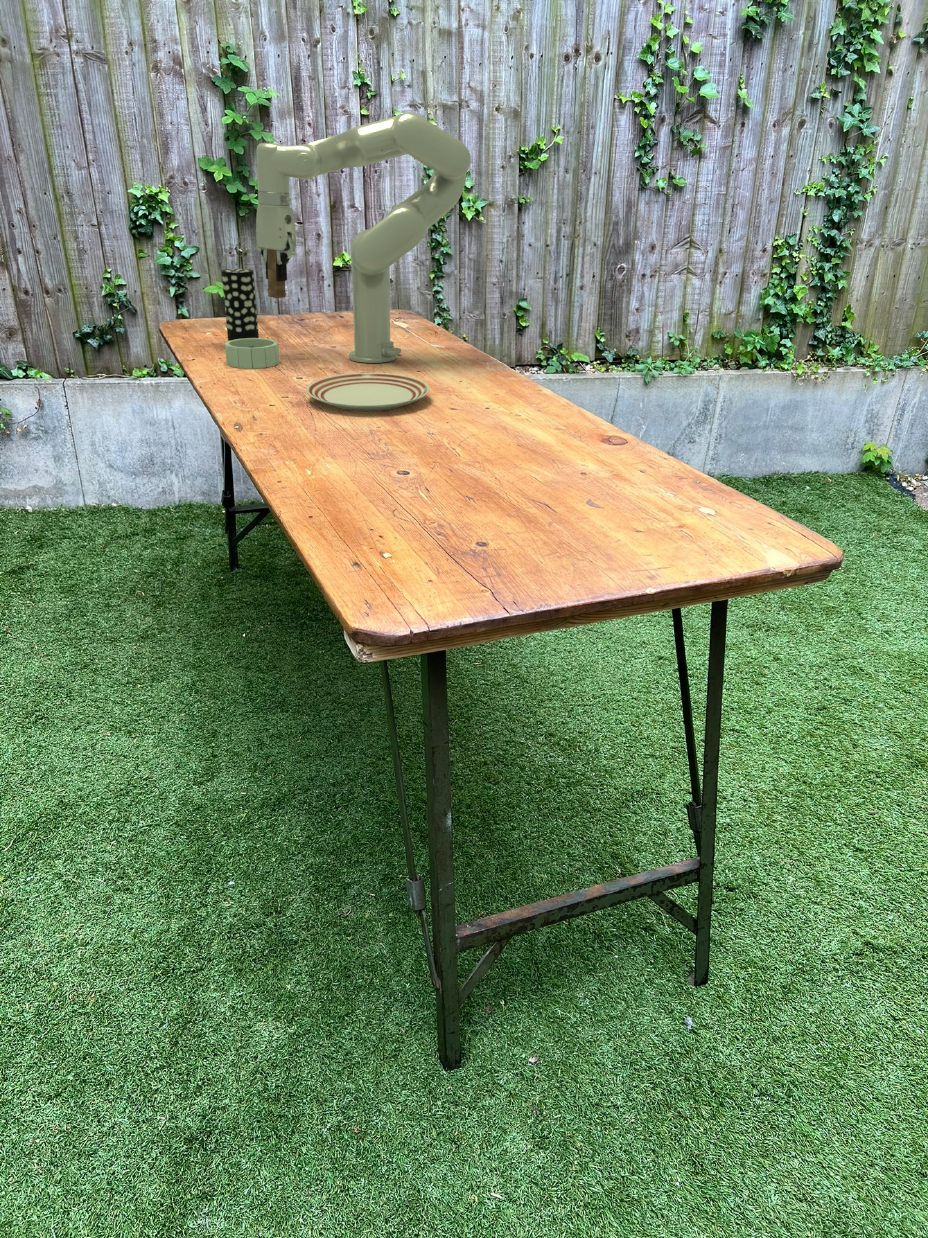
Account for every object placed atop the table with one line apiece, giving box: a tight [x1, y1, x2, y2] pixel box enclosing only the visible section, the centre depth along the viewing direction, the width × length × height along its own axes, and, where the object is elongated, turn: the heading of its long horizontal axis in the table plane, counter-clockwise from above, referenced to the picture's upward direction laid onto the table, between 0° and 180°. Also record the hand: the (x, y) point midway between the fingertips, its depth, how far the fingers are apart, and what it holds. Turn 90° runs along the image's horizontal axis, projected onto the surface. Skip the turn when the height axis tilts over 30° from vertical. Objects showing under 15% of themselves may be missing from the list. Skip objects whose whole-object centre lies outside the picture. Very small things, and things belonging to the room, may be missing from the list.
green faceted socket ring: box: [224, 337, 281, 370], centre depth 233 cm, size 13×13×5 cm
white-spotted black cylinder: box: [220, 268, 260, 342], centre depth 246 cm, size 8×8×20 cm
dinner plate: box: [305, 372, 431, 412], centre depth 203 cm, size 28×27×3 cm
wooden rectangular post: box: [267, 249, 286, 299], centre depth 229 cm, size 3×3×14 cm
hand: (276, 278), depth 230 cm, fingers closed on wooden rectangular post, 3 cm apart
